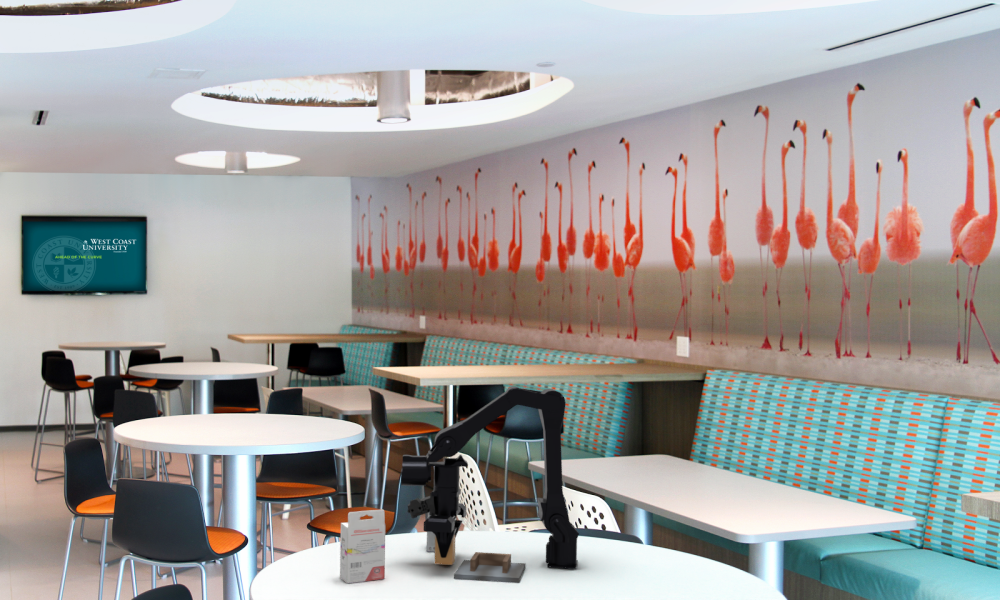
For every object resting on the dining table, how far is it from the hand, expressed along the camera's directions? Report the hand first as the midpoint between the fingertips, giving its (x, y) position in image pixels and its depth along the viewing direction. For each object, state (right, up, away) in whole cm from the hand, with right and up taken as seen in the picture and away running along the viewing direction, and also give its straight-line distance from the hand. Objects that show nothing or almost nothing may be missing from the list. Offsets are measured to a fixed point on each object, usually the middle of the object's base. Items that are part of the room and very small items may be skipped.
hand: (445, 555), depth 202 cm
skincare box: (-3, -3, +14) cm, 15 cm away
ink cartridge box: (-17, -2, -12) cm, 21 cm away
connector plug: (0, -2, 0) cm, 2 cm away
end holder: (+10, -2, -6) cm, 12 cm away
